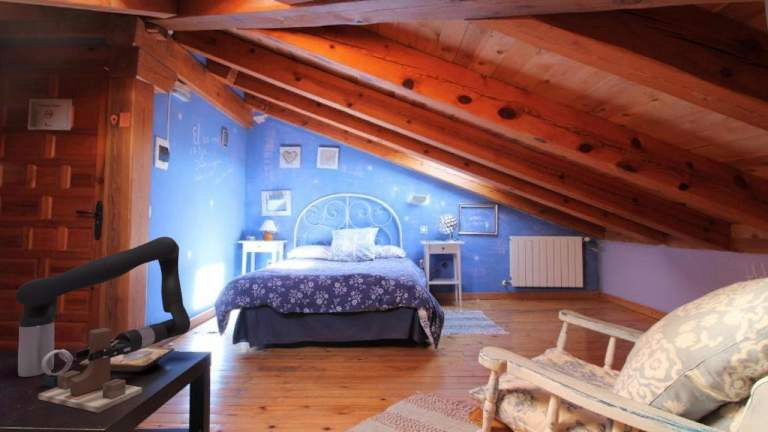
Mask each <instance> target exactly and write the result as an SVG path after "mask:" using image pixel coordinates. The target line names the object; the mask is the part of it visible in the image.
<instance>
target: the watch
mask: <svg viewBox="0 0 768 432" xmlns="http://www.w3.org/2000/svg"><path fill="white" fill-rule="evenodd" d="M52 354H54V355H55V354H58V357H59V358H60V359H61V360H63V361H64V363H66V364H65V365H64V366H63V368H62V369H60V370H57V371H54V372H52V370H51V371H50V370H49V368H48V366H47V364H46V362H47V360H48V359H49V358H50V357H51V356H52ZM73 360H74V356H73V355H72V354H71V353H70V352H69V351H68V350H66V349H64V348H62V349H54V351H51V352H50V353H48V354H47V355H46V356H45V357H44V359H43V360H42V363H41V365H42V366H41V367H42V369H43V371H44V372H45V373H44V374H45V375H43V385H44V386H46V387H50V388H52V389H53V388H56V387H58V375H60V374H63V373H66V372H68V370H69V369H70V368H71V366H72V364H73Z"/></svg>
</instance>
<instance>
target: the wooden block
mask: <svg viewBox="0 0 768 432" xmlns="http://www.w3.org/2000/svg"><path fill="white" fill-rule="evenodd" d="M88 336H89V338H88V339H89V340H88V345H89V354H90V353H94V352H97V351H100V350H102V351H103V349H106V348H109V347H110V346H111V340H112V330H111V329H110V328H107V327H101V328H95V329H92V330H91V329H90V330H89V333H88ZM109 381H111V358H109V356H108V357H106V358H99V359H96V360H94V361H88V363H87V367H86V369H85V370H84V371H83V372H82V373H80V375H78V376H76V377H74V378H71V380H70V393H71V394H72V395H74V396H75V397H76V396H79V395H83V394H86V393H89V392H92V391H95V390H99V389H102V388H103V384H104V383H107V382H109Z"/></svg>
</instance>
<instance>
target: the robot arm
mask: <svg viewBox="0 0 768 432" xmlns="http://www.w3.org/2000/svg"><path fill="white" fill-rule="evenodd" d="M179 259H180V246H179V244H178V243H177V241H176V240H175V239H173V238H172V237H170V236H160V237H157V238H154V239H152V240H150V241H148V242H146V243H143V244H141V245H138V246H136V247H133V248H129V249H126V250H122V251H119V252H115V253H113V254H110V255H106V256H103V257H99V258H96V259H94V260H91V261H88V262H86V263H83V264H80V265H79V266H76V267H74V268H72V269H69V270H67V271H64V272H62V273H59V274H57V275H52V276H48V277H41V278H35V279H32V280H29V281H27V282H25V283H23V284H22V285H21V286H19V287H18V289H17V290H16V292H15V295H14V297H15V301H16V302H17V303H18V304H20V305H22V306H23V311H22V314H21V316H20V318H19V320H18V321H19V323H18V325H19V326H18V327H19V328H18V329H19V330H18V350H17V353H18V354H17V374H18V376H19V377H22V378H26V377H28V378H29V377H34V376H39V375H43V374H46V373H45V372H44V371H43V369H42V367H41V366H42V365H41V363H42V360H43V359H44V357H45V356H46V355H47V354H48V353H50V352H51V351H54V350H55V318H56V317H55V316H56V314H57V309H58V297H60V296H63V295H66V294H68V293H72V292H74V291H78V290H83V289H86V288H90V287H94V286H97V285H100V284H103V283H106V282H109V281H112V280H114V279H117V278H120V277H122V276H124V275H126V274H127V273H129V272H130V271H132V270H134V269H136V268H137V267H139V266H142V265H144V264H148V263H150V262H154V261H155V262H156V261H157V262H158V264H159V268H160V274H161V275H160V277H161V287H160V290H161V291H160V292H161V293H160V295H161V302H162V310H163V312H164V313H167V314H170V316H171V317H172V318H170V319H167V320H164V321H160V322H158V323H156V322H155V323H153V324H149V325H145V326H139V327H136V328H133V329H130V330H126V331H123V332H120V333H119V334H117V336H116V337H115V338H114V339H111V346H110V347H109V348H106V349H103V351H102V350H100V351H97V352H94V353H90V354H89V344H88V345H86V346H85V348H84V349H80V350H78V351H76V352H74V359H75V360H80V359H82V358H86V357H87V361H88V362H89V361H94V360H96V359H99V358H106V357H108V356H109V358H116V357H118V356H126V355H129V354H132V353H134V352H138V351H140V350H143V349H146V348H148V347H149V346H152V345H156V344H158V343H161V342H162V341H165V340H167V339H171V338H175V337H178V336H182V335H185V334H186V333H188V332H189V330H190V327H191V319H190V317H189V315H188V312H187V309H186V307H185V306H184V301H183V300H184V299H183V293H182V286H181V282H180V281H181V280H180V274H179V272H180V271H179ZM46 364H47V366H48V368H49V370H50V371H51V372H52V370H54V369H55V367H54V366H55V354H52V356H51V357H50V358H49V359H48V360H47V362H46Z"/></svg>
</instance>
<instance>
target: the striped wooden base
mask: <svg viewBox="0 0 768 432" xmlns="http://www.w3.org/2000/svg"><path fill="white" fill-rule="evenodd" d="M78 375H81V371H78V370H77V371H76V370H70V371H66V373H63V374H60V375H58V387H55V388H53V387H52V388H51V389H48V390H45V391H43V392H40V393H38V395H37V399H38V400H41V401H44V402H45V401H46V402H50V403H54V404H59V405H63V406H68V407H72V408H76V409H79V410H80V409H81V410H85V411H90V412H93V413H97V414H99V413H101V412H104V411H105V410H108V409H110V408H112V407H114V406H116V405H118V404H120V403H123V402H124V401H127V400H129V399H131V398H133V397H135V396H138V395H139V394H141V393H143V392H142V391H143V388H142V387H140V386H134V385H129V384H126V381H127V380H125V379H120V378H115V379H112V380H110V381H109V382H107V383H104V384H103V388H102V389H99V390H95V391H92V392H89V393H86V394H83V395H79V396H76V397H75V396H74V395H72V394H71V393H70V380H71V378H74V377H76V376H78Z"/></svg>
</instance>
